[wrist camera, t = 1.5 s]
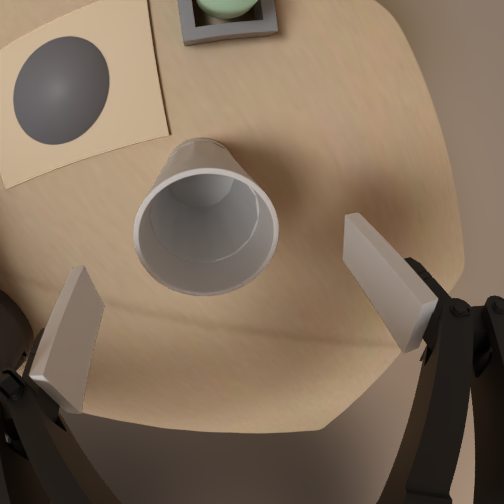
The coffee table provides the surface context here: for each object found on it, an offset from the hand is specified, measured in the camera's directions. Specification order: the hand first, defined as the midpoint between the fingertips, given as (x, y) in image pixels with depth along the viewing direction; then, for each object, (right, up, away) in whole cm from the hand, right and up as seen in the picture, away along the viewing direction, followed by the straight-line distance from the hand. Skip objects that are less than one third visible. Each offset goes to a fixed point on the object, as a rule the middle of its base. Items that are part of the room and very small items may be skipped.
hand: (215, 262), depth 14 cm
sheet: (-15, +14, +5) cm, 21 cm away
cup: (-3, +8, +12) cm, 15 cm away
